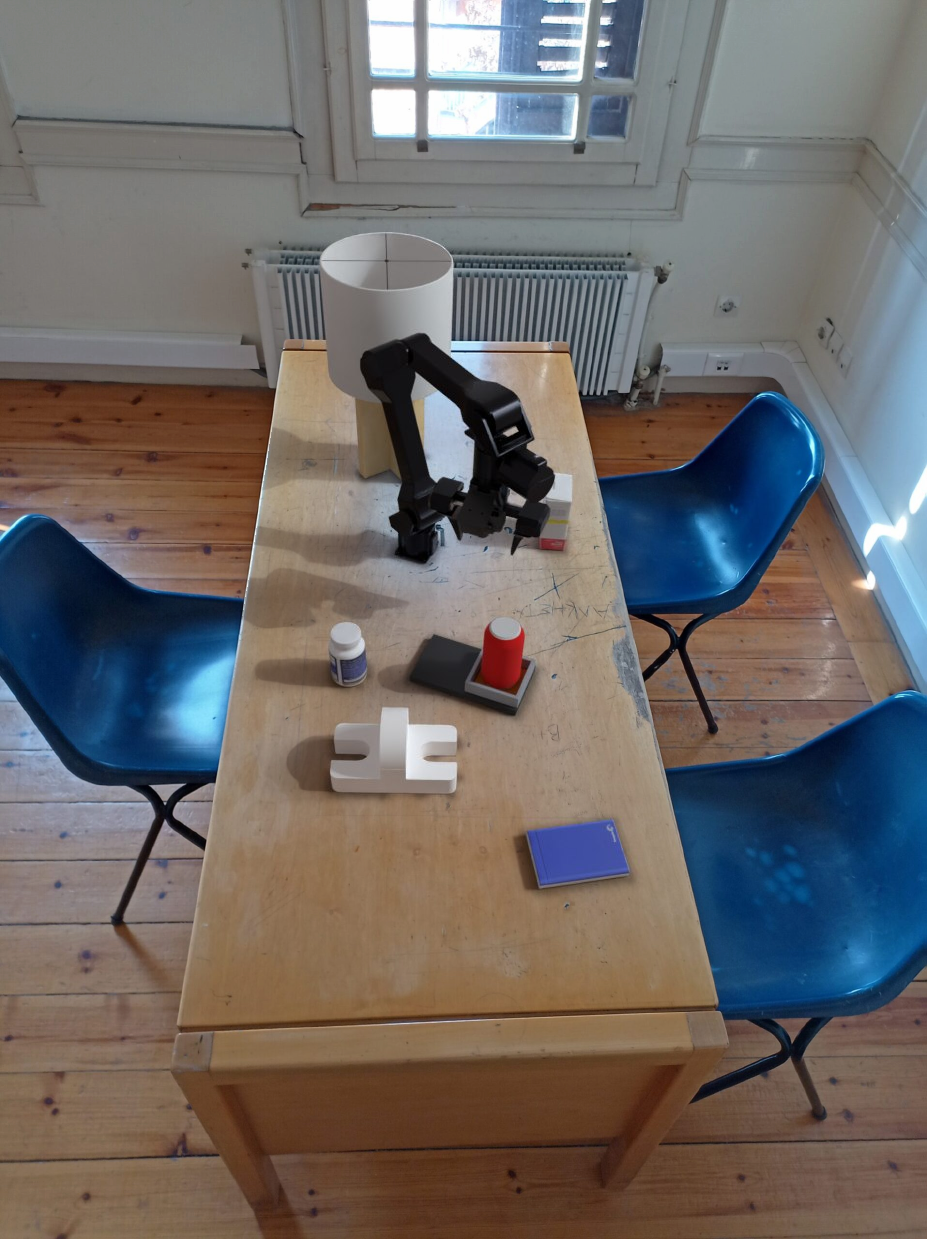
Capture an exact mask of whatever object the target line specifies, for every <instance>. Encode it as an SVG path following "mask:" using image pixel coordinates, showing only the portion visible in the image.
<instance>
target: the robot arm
mask: <svg viewBox="0 0 927 1239" xmlns="http://www.w3.org/2000/svg"><path fill="white" fill-rule="evenodd" d="M360 370H361V373H362V375H363V377H364V379H365V382H366V384H367V387H368V389H369V390H370V391H371V392H372V393H373V394H374V395H375V396H376V397H377V398H378V399H379V400H380V401H381V403H382V406H383V410H384V414H385V418H386V422H387V426H388V429H389V433H390V437H391V441H392V445H393V449H394V453H395V457H396V460H397V464H398V468H399V472H400V476H401V479H400V480H401V483H400V488H399V492H398V495H397V501H396V502H397V507H398V511H397V512H395V513H392V514H391V515H388V522H389V526H390V528H391V529H393V530H394V531H395V532H396V533H397V547H396V548H395V550H394V556H397V557H400V558H402V559H403V558H404V559H405V560H410V561H413V562H417V563H419V564H420V563H421V564H423V565H424V564H425V565H426V564H427V563H428V562H429V560H430V559H431V557H432V556H434V554H435V553H436V551H437V550H438V548H439V544H440V542H439V531H438V530H436V527H437V526H436V524H438V523H439V522H442V521H443V520H444V519H445V518H447V520H448V521H449V523H450V525H451V528H452V530H453V532H454V534H455V536H456V539H457V541H462V539H463V537H464V534H467V535H471V536H475V537H478V538H480V539H485V538H488V537H489V536H490V535H492V536H493V535H494V534H495V533H499V534H500V533H501V532H502V531H503V528H504V526H505V524H506V520H507V518H511V519H516V521H515V524H514V525H515V527H514V530H513V531H512V535H513V537H512V542H511V546H510V556H514V554H515V553H516V551H517V549H518V548H519V545H520V543H521V542H522V540H523V539H532V538H534V539H537V538H540V535H541V533H542V531H543V529H544V527H545V525H546V523H547V521H548V519H549V517H550V508H549V506H548V505H547V504H544V503H543V502H542V501H543V498H544V497H545V496H546V495H547V494H548V493H549V491H550V490H551V488H552V486H553V484H554V480H555V475H554V473H555V472H554V471H555V470H554V469H553V468H552V467H550V466H548V460H547V458H545V457H544V456H541V455H538V454H537V453H535V452H534V451H532V450H530V449H528V444H529V443H532V442H533V441H535V440H536V439H535V436H534V433H533V430H532V428H533V426H532V424H531V422H530V421H529V418H528V416H527V414H526V411H525V408H524V405H523V403H522V401H521V398H520V397H519V396H518V395H517V393H516V392H514V391H513V390H512V389H511V388H508V387H506V386H504V385H502V383H499V382H497V381H490V380H485V379H481V378H479V377H477V376H475V374H473V373H472V372H470V371H469V370H468V369H467V368H465V367H464V366H463V365H462V364H460V363H459V362H458V361H456V360H455V359H454V358H453V357H452V356H451V357H450V356H449V355H447V354H446V353H445V352H443V351H442V350H441V349H440V348H438V347H437V346H436V345H434V344H433V343H432V341H431V339H430V337H429V336H428V335H427V334H425V333H416V334H413V335H411V336H408V337H406V338H403V339H401V340H399V339H394V340H392V341H389V342H387V343H384V344H382V345H379V346H377V347H374V348H372V349H369V350H367V351H365V352H364V353H363V355H362V358H360ZM416 373H417V374H419V375H420V376H421V377H422V378H423V379H425V380H426V381H427V382H428V383H430V384H431V385H432V386H433V387H435V388H436V389H437V390H438V391H437V392H439V393H441V394H442V395H443V396H444V397H446V398H447V399H448V400H449V401H451V403H453V404H454V405H455V406H456V407H457V408H458V409H459V411H460V417H461V421H462V423H464V424H465V425H466V426H467V427H468V428H467V429H465V430H464V431H463V433H464V435H465V436H466V437H468V438H469V439H471V440H472V441H473V456H472V457H473V459H472V477H471V478H470V481H469V485H468V490H467V492H465V491H463V490H464V489H465V482H464V481H461V480H457V479H454V478H450V477H447V476H442V477H440V478H439V479H438V480H437V481H436V480H434V479H433V477H431V474H430V470H429V467H428V466H429V465H428V463H427V462H428V461H427V457H426V454H425V448H424V449H423V445H422V441H421V436H420V432H419V428H418V424H417V420H416V415H415V411H414V407H413V403H412V399H411V393H412V390H413V386H414V382H415V379H416ZM514 428H516V429H517V431H516V432H514V433H512V434H510V435H506V434H505V433H506V432H508V431H510V430H512V429H514ZM511 491H513V492H514V493H515V494H517V495H518V496H520V497H522V498H523V499H524V500H525V502H524V504H522V505H520V504H517V503H512V502H509V497H510V495H511Z"/></svg>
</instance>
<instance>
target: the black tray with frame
mask: <svg viewBox="0 0 927 1239" xmlns="http://www.w3.org/2000/svg"><path fill="white" fill-rule="evenodd" d="M482 654H483V647H481V648H479V647H477V646H473V645H470V644H468V643H467V644H466V643H463V642H459V641H457V640H453V639H451V638H448V637H445V636H441V635H438V634H434V633H433V634H432V635H431V638H430V639H429V642H427V645H426V646H425V649H424V650H423V652H422V654H421V656H420V657H419V659H418V661H417V663H416V664H415V666H414V668H413V670H412V671H411V673H410V675H409V682H412V683H414V684H417V685H421V686H424V687H426V688H431V689H433V690H436V691H438V692H441V693H445V694H448V695H450V696H454V697H457V698H461V699H464V700H466V701H470V702H473V703H475V704H479V705H482V706H485V707H488V708H491V709H494V710H497V711H499V712H503V713H505V714H506V713H507V714H508V715H512V716H516V715H517V713H518V711H519V709H520V706H521V704H522V701H523V699H524V698H525V694H526V692H527V690H528V688H529V685H530V683H531V681H532V678H533V676H534V674H535V671H536V659H535V658H531V657H528V656H526V655H523V656H522V663H521V671H520V678H519V680H518V682H517V683H516V685H514V686H513V687H511V688H509V689H504V690H499V689H495V688H492V687H490V686H489V685H487V684H486V683H485V681H484V680H483V678H482V676H481V666H482Z"/></svg>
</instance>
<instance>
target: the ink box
mask: <svg viewBox="0 0 927 1239" xmlns="http://www.w3.org/2000/svg"><path fill="white" fill-rule="evenodd" d="M554 475H555V480H554V484H553V486H552V488H551V490H550V491H549V493H548V494H547V495H546V496H545V497H544V498H543V499H542V503H544V504H547V505H548V506H549V508H550V517H549V519H548V521H547V523H546V525H545V527H544V529H543V531H542V533H541V535H540V537H539V549H540V550H555V551H564V550H565V546H566V540H567V534H568V528H569V522H570V517H571V511H572V504H573V474H568V473H561V472H554Z"/></svg>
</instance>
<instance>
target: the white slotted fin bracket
mask: <svg viewBox="0 0 927 1239" xmlns="http://www.w3.org/2000/svg"><path fill="white" fill-rule="evenodd" d="M381 709H382V710H381V716H380V723H359V722H358V723H355V722H354V723H353V722H341V723H338V725H336V726H335V728H334V736H333V743H334V744H333V745H334V753H335V754H336V755H362V756H366V757H365V758H363V759H360V760H346V759H345V760H340V759H339V760H338V759H331V760H330V767H329V768H330V769H329V774H330V781H331V788H332V790H333V791H334V792H336V793H365V794H366V793H372V794H373V793H374V794H376V793H377V794H430V795H431V794H432V795H433V794H435V795H437V794H439V795H440V794H441V795H447V794H448V795H450V794H453V793H454V792H455V791H456V789H457V781H458V778H457V777H458V762H456V761H451V762H450V761H428V760H426V759H425V758H426V757H430V756H439V757H440V756H443V757H444V756H445V757H446V756H447V757H456V756H457V746H458V729H457V728H456V727H455V726H454V725H452V724H451V725H450V724H415V723H414V724H413V723H411V724H410V721H409V719H410V718H409V716H410V715H409V707H399V706H397V707H395V706H394V707H393V706H391V707H390V706H382V708H381Z"/></svg>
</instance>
